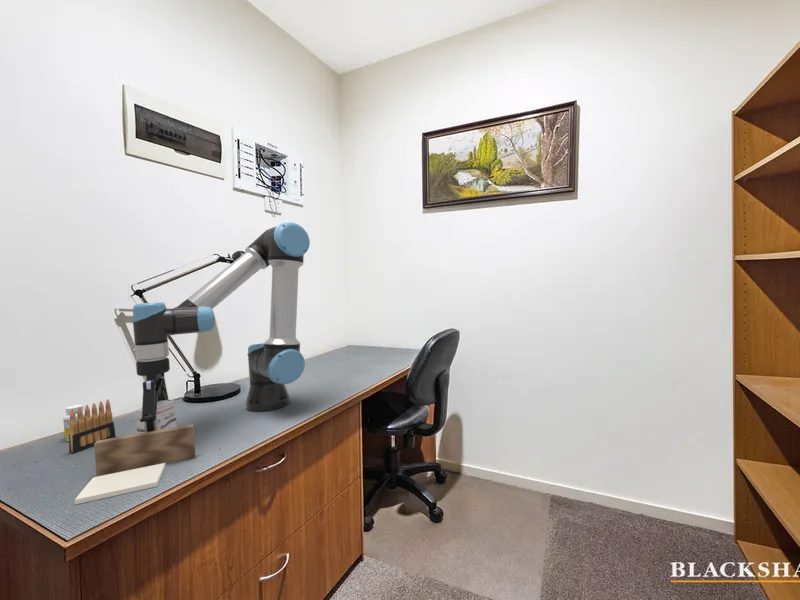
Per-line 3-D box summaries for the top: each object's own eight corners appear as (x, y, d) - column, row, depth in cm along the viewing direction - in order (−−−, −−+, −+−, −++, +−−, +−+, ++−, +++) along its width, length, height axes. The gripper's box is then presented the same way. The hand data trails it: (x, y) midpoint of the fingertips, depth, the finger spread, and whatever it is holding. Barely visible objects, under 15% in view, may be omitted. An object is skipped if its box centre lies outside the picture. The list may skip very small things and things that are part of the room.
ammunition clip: (73, 453, 99) (70, 410, 99) (69, 453, 100) (65, 409, 99) (115, 438, 109) (113, 398, 109) (111, 437, 110) (108, 398, 109)
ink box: (153, 454, 96) (150, 410, 95) (137, 454, 97) (133, 409, 96) (179, 441, 104) (176, 399, 104) (164, 440, 105) (161, 399, 105)
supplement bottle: (85, 433, 114) (83, 402, 114) (91, 436, 111) (88, 405, 111) (62, 439, 110) (60, 407, 110) (67, 443, 107) (65, 410, 107)
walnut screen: (195, 454, 94) (193, 424, 94) (194, 457, 92) (192, 426, 92) (99, 473, 86) (97, 440, 86) (96, 477, 85) (94, 443, 84)
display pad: (165, 466, 88) (165, 462, 88) (156, 486, 79) (156, 481, 79) (93, 481, 83) (93, 477, 83) (75, 504, 74) (74, 499, 74)
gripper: (147, 354, 110) (152, 423, 110) (122, 368, 87) (128, 456, 87) (176, 351, 113) (180, 419, 113) (159, 364, 90) (165, 449, 90)
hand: (158, 435), depth 100 cm, fingers open, 13 cm apart
